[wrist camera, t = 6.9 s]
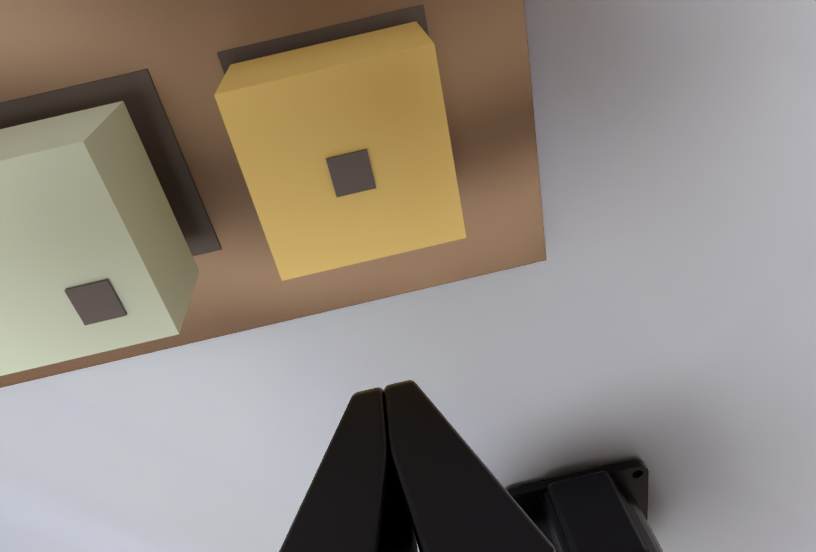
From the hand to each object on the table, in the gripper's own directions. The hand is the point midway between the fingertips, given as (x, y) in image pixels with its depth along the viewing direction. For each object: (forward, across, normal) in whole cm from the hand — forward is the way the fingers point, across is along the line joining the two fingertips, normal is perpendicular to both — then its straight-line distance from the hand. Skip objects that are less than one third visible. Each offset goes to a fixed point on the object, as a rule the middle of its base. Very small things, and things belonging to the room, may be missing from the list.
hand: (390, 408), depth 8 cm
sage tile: (+9, +8, 0) cm, 12 cm away
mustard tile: (+11, 0, 0) cm, 11 cm away
